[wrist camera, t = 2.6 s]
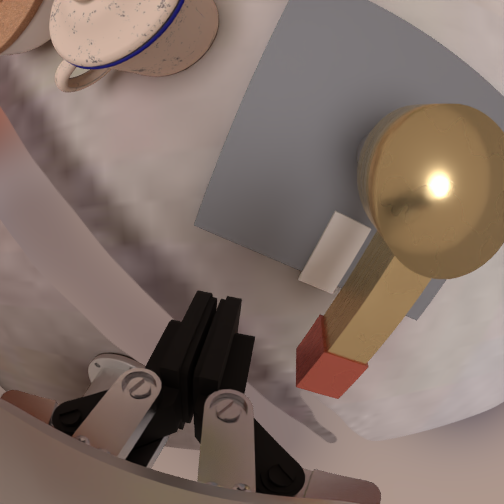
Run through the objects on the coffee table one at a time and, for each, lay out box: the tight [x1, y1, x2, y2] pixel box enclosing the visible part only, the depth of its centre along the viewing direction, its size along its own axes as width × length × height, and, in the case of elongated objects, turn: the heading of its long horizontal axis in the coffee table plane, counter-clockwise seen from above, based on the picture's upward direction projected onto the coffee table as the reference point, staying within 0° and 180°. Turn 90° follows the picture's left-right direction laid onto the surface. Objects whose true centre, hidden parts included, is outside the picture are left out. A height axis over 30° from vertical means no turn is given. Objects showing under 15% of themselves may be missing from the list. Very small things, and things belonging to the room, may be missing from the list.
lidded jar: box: [0, 0, 54, 56], centre depth 13 cm, size 11×11×9 cm
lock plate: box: [194, 0, 504, 320], centre depth 16 cm, size 23×23×12 cm
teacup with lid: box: [49, 0, 218, 92], centre depth 14 cm, size 12×9×12 cm
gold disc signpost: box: [296, 103, 504, 399], centre depth 14 cm, size 16×8×4 cm, turn 158°
